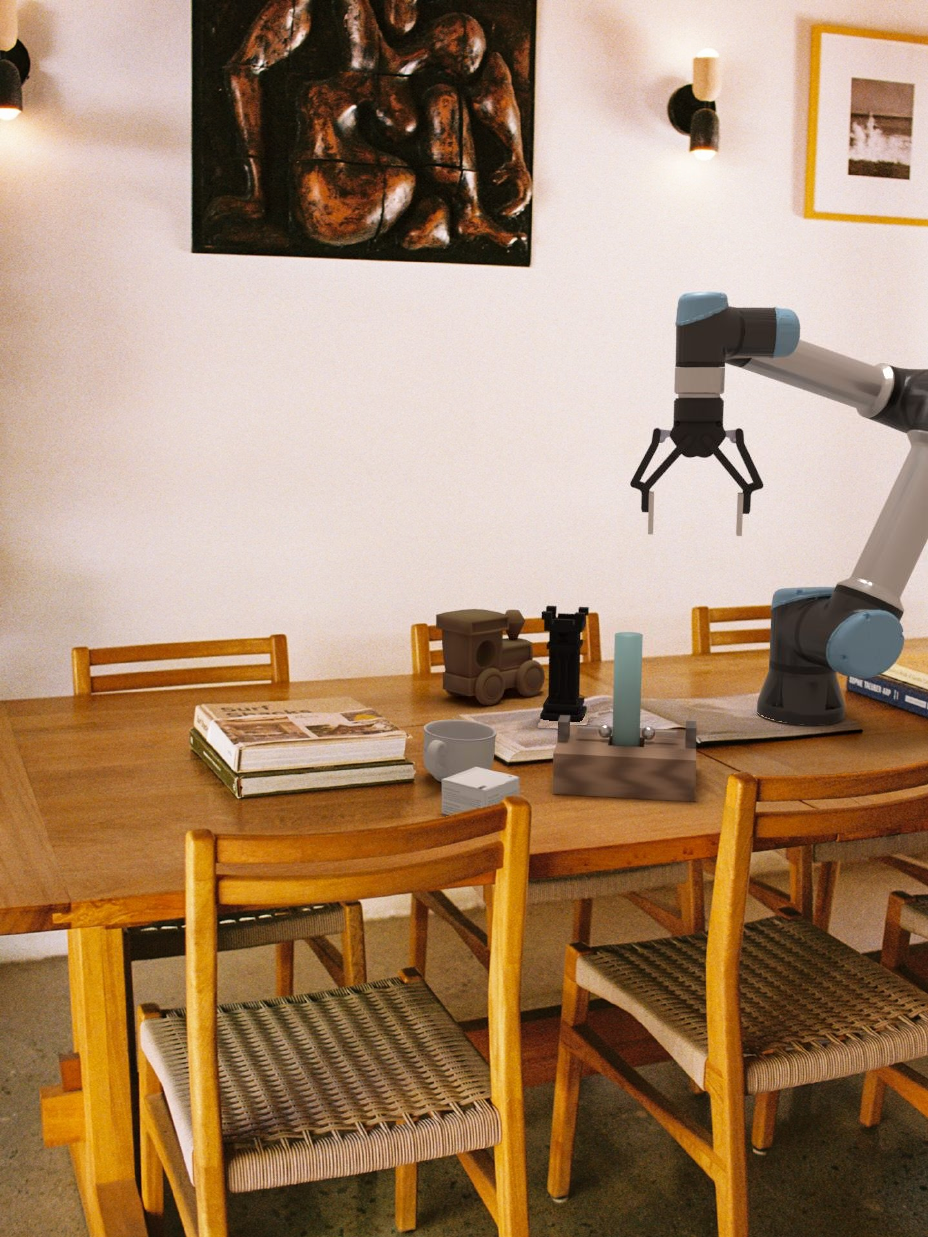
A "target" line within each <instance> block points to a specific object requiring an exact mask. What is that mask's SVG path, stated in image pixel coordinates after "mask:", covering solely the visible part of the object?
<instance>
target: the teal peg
mask: <svg viewBox="0 0 928 1237" xmlns="http://www.w3.org/2000/svg"><path fill="white" fill-rule="evenodd" d="M643 636H644V635H643V634H642V633H640V632H633V631H632V632H631V631H621V632H619V631H618V632H615V633H614V650H613V651H614V652H613V654H614V655H613V658H614V659H613V692H612V693H613V694H612V695H613V696H612V727H613V732H612V746H630V747H640V728H641V714H642V713H641V707H642V706H641V705H642V702H641V701H642V678H643V677H642V671H643V670H642V669H643V638H644V637H643Z"/></svg>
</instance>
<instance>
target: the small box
mask: <svg viewBox="0 0 928 1237" xmlns="http://www.w3.org/2000/svg"><path fill="white" fill-rule="evenodd" d="M512 795H516V796H519V797H520V777H519V776H517V775H513V774H509V773H506V772H500V771H495V770H492V769H491V770H488V769H484V768H480V767H474V768H472V769H469V770H467V771H464V772H461V773H458V774H456V775H453V776H450V777H447V778H444V779H442V782H441V814H444V815H447V816H450V814H453V813H459V812H461V811H467V810H470V809H476V808H483V807H487V806H492V805H495V804H498V803H500V802H501V801H502V800H503V799H504V798H505V797H507V796H512Z"/></svg>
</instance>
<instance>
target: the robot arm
mask: <svg viewBox="0 0 928 1237" xmlns="http://www.w3.org/2000/svg"><path fill="white" fill-rule="evenodd" d="M728 300H729V299H728V296H727V294H726V293H724V292H718V291H717V292H716V291H696V292H686V293H683V294H682V295H680V296H679V298H678V301H677V308H676V317H675V318H676V319H675V327H676V328H675V364H674V365H675V366H674V367H675V368H674V387H673V389H674V390H673V391H674V394H675V395H676V394H677V397H676V398H675V399H674V401H673V423H672V424H673V426H672V428H671V429H663V428H662V429H661V428H659V427H655V428H654V429H653V430H652V437H651V442H650V445H649V446H648V449H647V450H646V452H645V454H644V456H643V457H642V459H641V462H640V463H639V466H638V467H637V469H636V471H635V473H634V475H633V476H632V479H631V481H630V487H631V488H634V489H636V490H639V491H640V493H641V497H640V498H641V500H640V503H641V504H640V505H641V506H640V509H641V513H648V516H647V517H648V520H647V535H654V516H655V515H654V511H655V510H654V508H655V491H653V490H651V488H652V487H653V486H654V485H655V484H656V483H657V482H658V481H659V479H660V478H661V477H663V475H664V474H665V473H666V472H667V471H668V469H669V468H670V467H671V466H672V465H673V464H674V462H675V461H677V459H678V458H679V457H680V456H681V455H682V456H683V457H685V458H689V459H690V458H691V459H692V458H695V457H698V458H702V459H703V458H704V459H706V458H709V457H712V455H713V456H714V457H715V458H716V459H717V461H718V462H719V463H720V464H721V465H722V467H723V468H724V469H725V471H726V472H727V473H728V474H729V476H730V477H731V478H732V479H733V480H734V482H735V483H736V484H737V485H738V486H739V487H740V489H741V490H742V492H737V500H736V524H735V525H736V527H735V528H736V529H735V535H736V537H743V515H749V514H750V512H751V502H752V500H751V499H752V493H753V492H756V491H758V490H762V489H763V488H764V482H763V480H762V478H761V476H760V474H759V472H758V470H757V467H756V465H755V463H754V461H753V459H752V457H751V455H750V452H749V450H748V449H747V445H746V444H745V437H744V436H745V435H744V434H745V432H744V430H743V429H742V428H740V427H739V428H735V429H727V430H725V427H724V405H725V404H724V403H725V400H724V398H722V397H721V395H723V394H724V393H725V379H726V378H725V377H726V376H725V375H726V365H730V366H732V367H736V368H740V369H743V370H745V371H748V372H751V373H754V374H756V375H757V374H758V375H760V376H763V377H766V378H768V379H772V380H774V381H777V382H780V383H783V384H786V385H789V386H790V387H791V386H792V387H794V388H796V389H801V390H803V391H804V392H805V391H806V392H809V393H811V394H814V395H817V396H820V397H823V398H827V399H829V400H832V401H834V402H838V403H840V404H843V405H846V406H849V407H851V408H855V410H856V412H857V413H858V414H859V416H861V417H863V418H865V419H869V420H870V421H873V422H876V423H877V424H878V423H879V424H881V425H884V426H886V427H889V428H891V429H894V430H896V431H899V432H902V433H904V434H906V436H907V438H908V441H909V443H910V449H909V452H907V456H906V457H905V460H904V463H903V464H902V466H901V469H900V471H899V473H898V475H897V477H896V479H895V481H894V483H893V486H892V487H891V489H890V492H889V494H888V496H887V499H886V501H885V503H884V505H883V507H882V509H881V511H880V513H879V515H878V517H877V519H876V521H875V523H874V526H873V527H872V528H873V529H872V530H871V532H870V535H869V537H868V538H867V540H866V543H865V545H864V547H863V550H862V551H861V553H860V556H859V557H858V560H857V561H856V564H855V566H854V568H853V570H852V573H851V575H850V577H848V578H846V579H844V580H841V581H838V582H837V583H836V585H835V586H809V587H807V586H804V587H785V588H780V589H777V590H776V591H774V592H773V595H772V600H771V604H770V605H771V607H770V613H771V614H770V632H769V633H770V636H769V658H768V660H769V662H768V671H767V675H766V677H765V681H764V682H763V685H762V687H761V689H760V693H759V694H758V697H757V701H756V713H757V712H758V713H759V714H760V715H763V716H764V717H767V718H770V719H774V720H775V721H774V722H776V721H782V722H787V723H790V724H789V725H795V724H804V725H803V726H820V725H819V724H827V725H832V724H833V725H834V724H838V723H841V722H842V721H844V720H845V717H846V715H845V714H846V713H845V712H846V705H845V701H844V697H843V693H842V689H841V686H840V683H839V678H838V674H840V675H842V676H845V677H851V678H852V677H853V678H856V679H871V678H874V677H877V676H879V675H882V674H884V673H886V672H887V671H888V670H890V669H891V667H893V666H894V665H895V664H896V662H897V661H898V659H899V658H900V656H901V654H902V652H903V649H904V645H905V636H904V634H903V633H904V628H903V626H902V623H901V619H902V617H903V615H904V613H905V609H904V606H903V603H902V601H901V597H902V595H903V594H904V593H903V592H904V590H905V589H906V586H907V584H908V583H909V580H910V578H911V575H912V573H913V572H914V569H915V567H916V565H917V563H918V561H919V558H920V556H921V554H922V552H923V550H924V548H925V546H926V544H927V542H928V368H904V367H897V366H893V365H890V364H888V363H883V362H882V363H878V364H875V365H872V364H870V363H866V362H864V361H861V360H858V359H855V358H854V357H853V358H852V357H850V356H848V355H847V356H846V355H844V354H842V353H839V352H837V351H833V350H830V349H828V348H825V347H822V346H820V345H816V344H813V343H810V342H808V341H806V340H802V339H800V338H801V324H800V320H799V317H798V315H797V313H796V312H795V311H793V309H790V308H782V307H781V308H780V307H777V306H773V307H735V306H729V301H728ZM667 438H670V439H671V441H672V442H673V445H675V448H674V449H673V450H672V451H671V452H670V453H669V454H668V456H667V457H666V458H665V459H664V460H663V462H662V463H660V465H659V466H658V467H657V468H656V469H655V471H654V472H653V473H652V474H651V475H650V476H649V477H648V479H646V480H645V481H641V480H642V479H643V476H644V474H645V472H646V470H647V468H648V466H649V465H650V464H651V461H652V459H653V457H654V455H655V453H656V451H657V450H658V448H659V446H660V445H659V444H663V443H664V442H665V440H666V439H667ZM726 438H728V439H729V440H730V443H732V444H735V445H736V448H737V450H738V453H739V455H740V457H741V460H742V461H743V464H744V465H745V468H746V470H747V472H748V474H749V476H750V479H751V481H752V482H750V483H748V482H747V481H746V479H745V478H744V476H742V474H741V473H740V472H739V471H738V470H737V468H736V467H735V466H734V465H733V464H732V463H731V460H729V459H728V457H727V456H726V455H725V454H724V452H722V450H721V449H720V448H719V447H720V446H721V445H722V443H723V442H724V441H725V439H726ZM837 673H838V674H837ZM760 715H759V716H760ZM787 723H786V724H787Z"/></svg>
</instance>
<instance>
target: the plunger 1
mask: <svg viewBox="0 0 928 1237" xmlns="http://www.w3.org/2000/svg"><path fill="white" fill-rule="evenodd" d="M599 726H600V727H599V730H598V727H584V726H578V727H577V734H594V735H597V734H598V732H599V735H600V736H601V737H603V738H608V737H610V736H611V734H612V729H611V727H612V726H611V725H609V724H605V723H604V724H601V725H599Z"/></svg>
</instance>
